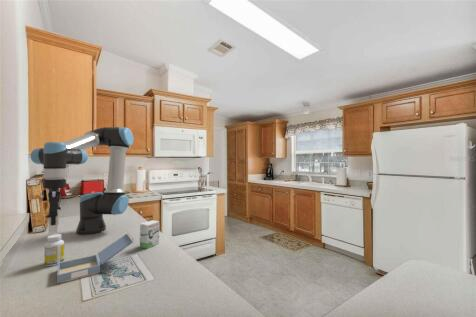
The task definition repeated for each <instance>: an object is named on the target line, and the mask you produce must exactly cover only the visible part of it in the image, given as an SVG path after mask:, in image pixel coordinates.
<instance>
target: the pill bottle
mask: <svg viewBox="0 0 476 317" xmlns="http://www.w3.org/2000/svg"><path fill="white" fill-rule="evenodd" d="M46 239H47V242H46V243H45V244H44V266H46V267H53V266H58V263H60V262H65V241H64V240H63V239H62V233H61V234H60V233H53V234H51V235H48V236H47V237H46Z"/></svg>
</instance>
